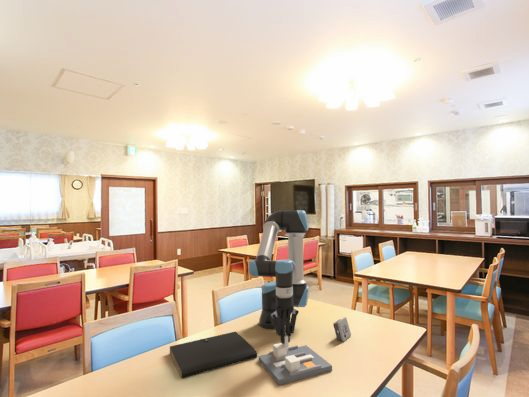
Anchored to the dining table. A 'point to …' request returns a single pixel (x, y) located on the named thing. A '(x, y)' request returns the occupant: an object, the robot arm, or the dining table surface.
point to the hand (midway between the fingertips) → (285, 350)
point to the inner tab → (279, 350)
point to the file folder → (211, 353)
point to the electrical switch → (342, 329)
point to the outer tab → (292, 363)
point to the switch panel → (308, 364)
